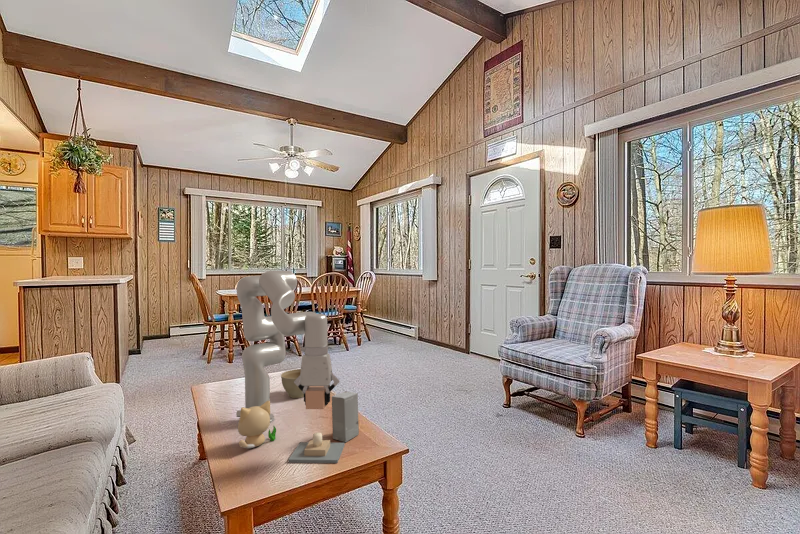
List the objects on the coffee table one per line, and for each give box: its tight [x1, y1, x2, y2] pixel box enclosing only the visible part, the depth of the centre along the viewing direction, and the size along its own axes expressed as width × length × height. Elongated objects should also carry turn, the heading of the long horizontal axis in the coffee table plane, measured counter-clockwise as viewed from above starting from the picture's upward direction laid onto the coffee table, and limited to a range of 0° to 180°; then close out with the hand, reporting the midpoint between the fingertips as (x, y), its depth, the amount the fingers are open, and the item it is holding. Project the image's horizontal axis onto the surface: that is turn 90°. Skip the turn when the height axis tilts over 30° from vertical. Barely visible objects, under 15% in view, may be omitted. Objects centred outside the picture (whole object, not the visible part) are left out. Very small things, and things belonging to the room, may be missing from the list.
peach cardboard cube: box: [305, 386, 327, 410], centre depth 128 cm, size 6×6×6 cm
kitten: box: [237, 400, 277, 449], centre depth 136 cm, size 15×10×15 cm, turn 133°
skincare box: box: [331, 390, 360, 444], centre depth 141 cm, size 8×7×16 cm
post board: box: [288, 432, 346, 464], centre depth 128 cm, size 16×12×6 cm
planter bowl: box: [280, 368, 310, 399], centre depth 187 cm, size 16×16×11 cm
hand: (317, 403), depth 128 cm, fingers closed on peach cardboard cube, 6 cm apart
